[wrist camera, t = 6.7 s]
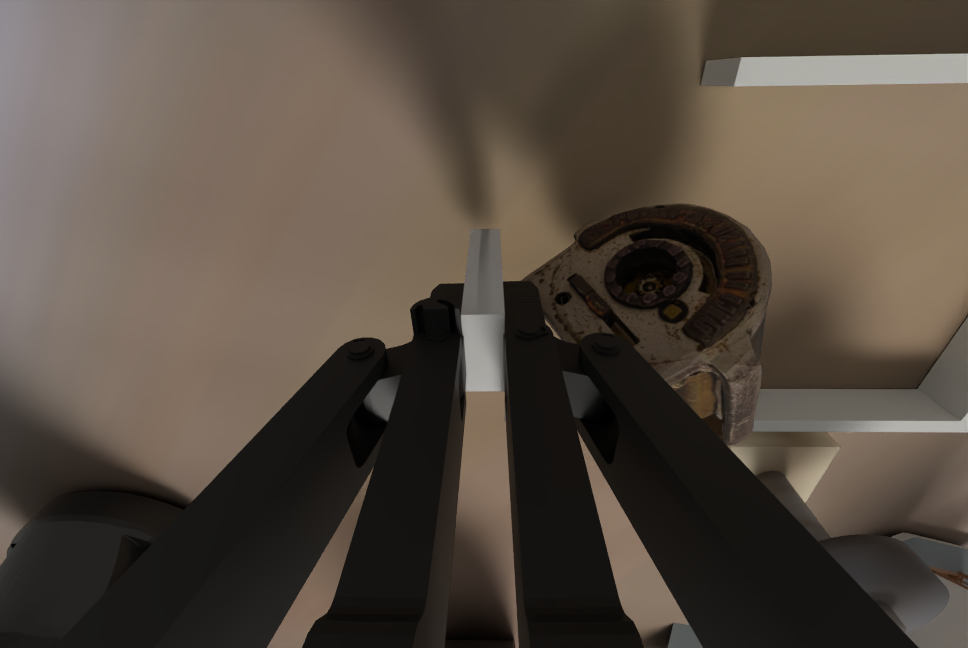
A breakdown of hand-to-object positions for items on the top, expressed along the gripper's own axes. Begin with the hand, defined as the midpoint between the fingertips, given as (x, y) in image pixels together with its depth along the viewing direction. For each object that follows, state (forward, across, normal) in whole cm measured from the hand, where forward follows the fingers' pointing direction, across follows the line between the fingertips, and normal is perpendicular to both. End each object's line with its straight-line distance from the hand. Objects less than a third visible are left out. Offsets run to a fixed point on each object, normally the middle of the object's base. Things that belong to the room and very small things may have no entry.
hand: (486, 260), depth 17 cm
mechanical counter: (+3, +7, -3) cm, 8 cm away
